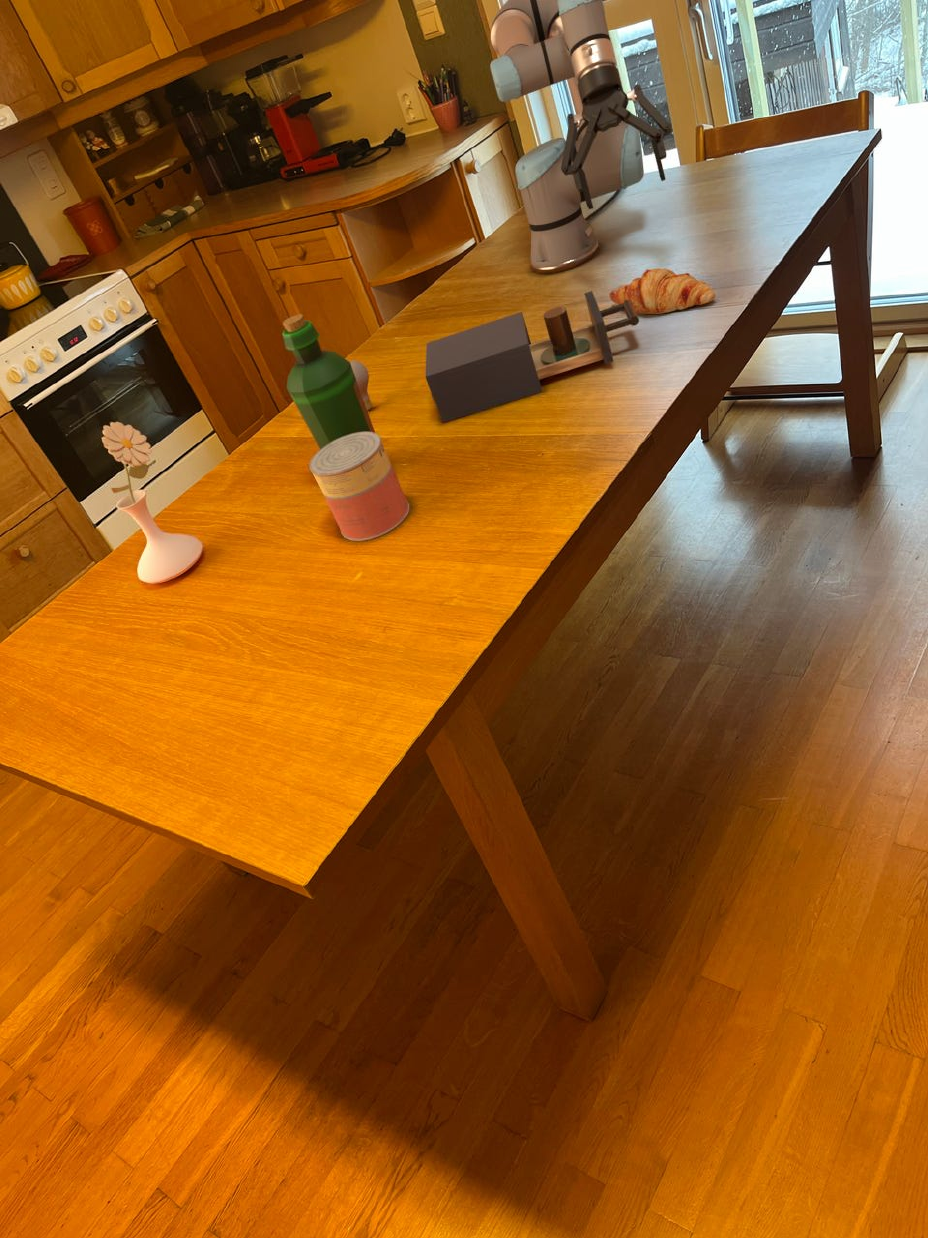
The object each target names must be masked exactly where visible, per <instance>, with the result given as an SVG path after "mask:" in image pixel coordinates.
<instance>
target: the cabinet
mask: <svg viewBox="0 0 928 1238" xmlns="http://www.w3.org/2000/svg"><path fill="white" fill-rule="evenodd" d="M527 327H528V326H527V324H526V321H525V318H524V313H523V311H519V312H517V313H514V314H510V315H507V316H504V317H502V318H498V319H495V320H491V321H489V322H487V323H483V324H480V325H477V326H474V327H472V328H471V327H470V328H468V329H465V330H462V331H459V332H456V333H454V334H450V335H448V336H444V337H442V338H438V339H435V340H431V341H429V342H426V353H425V380H426V383H427V386H428V388H429V390H430V394H431V395H432V398H433V401H434V404H435V407H436V409H437V412H438V414H439V417H440V420H441V422H442V424H444V423H447V422H452V421H455V420H457V419H458V420H459V419H460V418H464V417H467V416H469V415H474V414H477V413H480V412H482V411H483V412H484V411H486V410H489V409H493V408H495V407H498V406H502V405H505V404H508V403H512V402H515V401H518V400H522V399H525V398H527V397H531V396H534V395H537V394H541V393H543V389H542V383H541V379H540V380H539V378H538V375H537V371H536V368H535V364H534V361H533V358H532V354H531V351H530V347H529V345H530V344H532V341H531V338H530V335H529V331H528V328H527Z"/></svg>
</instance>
